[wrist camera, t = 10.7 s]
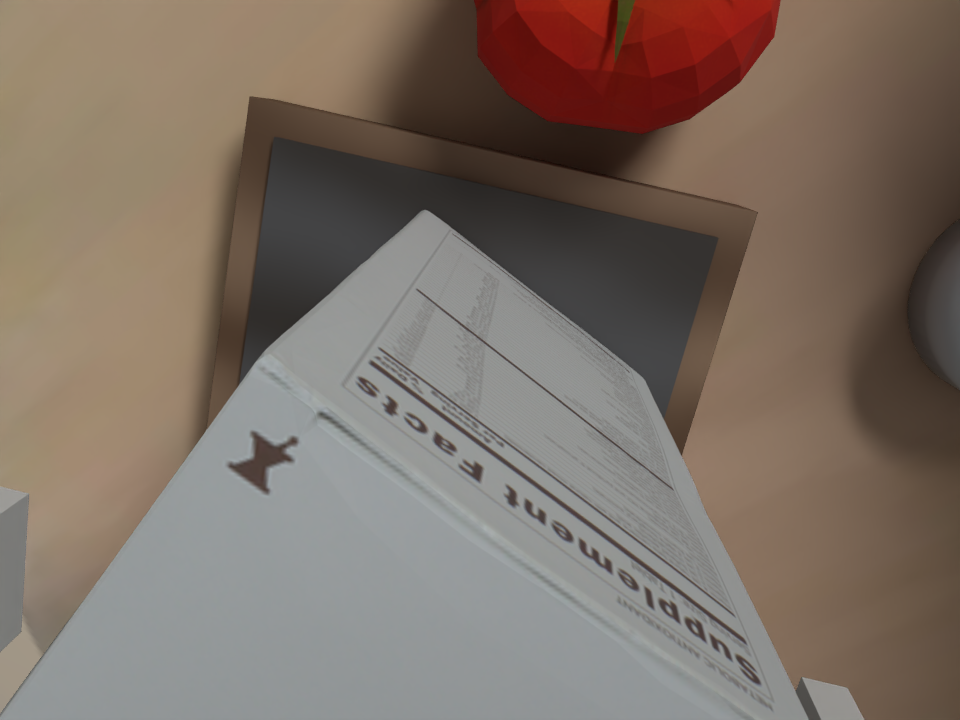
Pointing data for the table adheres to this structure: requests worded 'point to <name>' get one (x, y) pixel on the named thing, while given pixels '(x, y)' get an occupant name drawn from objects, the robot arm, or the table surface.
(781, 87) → the table surface
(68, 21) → the table surface
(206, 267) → the table surface
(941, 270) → the grey rounded block
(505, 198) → the picture frame
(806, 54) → the table surface
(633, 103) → the tomato
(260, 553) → the supplement box
